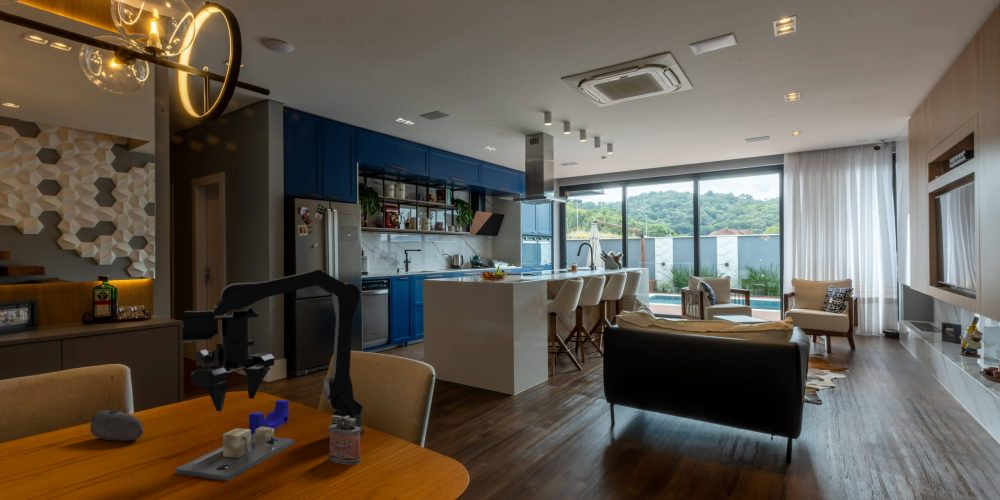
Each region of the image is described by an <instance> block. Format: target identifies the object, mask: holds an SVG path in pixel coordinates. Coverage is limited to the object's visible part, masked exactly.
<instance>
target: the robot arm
mask: <svg viewBox="0 0 1000 500" xmlns="http://www.w3.org/2000/svg"><path fill="white" fill-rule="evenodd" d="M315 286H317V287H318V288H320V289H321V290H323V291H324V292H327V293H329V295H331V297H332V305H333V309H334V314H335V327H334V328H335V330H334V344H333V360H332V370H331V374H330V376H329V377H324V379H323V380H324V382H323V383H324V388H323V391H322V394H323V395H324V397H325V398H326V401H327V402H328V403H329V405H330V406H331V407H332V408H333V409H334V410H335V411H333V416H334V415H336V416H342V417H345V416H350V418H354V419H356V423H355V426H357V427H360V428H361V432H360V435H362V434H363V433H365V432H366V431H365V429H364V428H363V429H362V410H363V407H364V406H363V405H362V403H360V402H359V400H357V399H356V398H355V396H354V389H353V383H352V377H351V373H350V372H351V371H350V370H351V369H350V368H351V354H352V342H353V341H352V339H353V324H354V317H355V315H356V313H357V310H358V307H359V303H360V299H361V291H360V289H359V288H358V286H357V285H356V284H352V283H348V282H343V281H340V280H338V279H337V278H335V277H333V276H332V275H329V274H328V273H326V272H325V270H322V269H315V268H314V269H312V270H310V271H306V272H301V273H296V274H293V275H288V276H283V277H278V278H275V279H271V280H266V281H255V282H253V281H252V282H236V283H231V284H228V285H226V286H225V287H224V288H223V290H222V291H221V294H220V295H221V299H220V300H219V301H218V302H217V303H216V304H215V305H214V307H213V309H212V310H201V311H200V310H197V311H194V310H185V311H184V312H183V326H182V327H181V330H182V331H181V332H182V333H181V334H182V336H181V337H182V342H183V343H188V342H198V341H199V342H200V341H211V340H212V341H213V337H215V336H218V335H219V321H221V323H220V324H221V325H220V326H221V330H220V331H221V333H220V335H221V337H220V338H221V340H220V341H221V342H218V343H216V345H215V350H212V351H208V350H207V349H202V350H198V351H195V352H194V363H195V366H199V367H200V366H202V367H201V368H197V369H194V370H193V371H192V372H191V373H190V383H191V384H196V385H197V386H198V387H203V388H204V389H205V390H206V391H207V393H208V395H209V397H210V399H211V401H212V404H213V406H214V408H215V410H216V412H222V411H223V408H224V404H225V401H226V394H227V388H228V384H229V381H226V379H227V377H228V375H230V374H232V373H236V372H240V371H243V372H244V373H245V375H246V379H247V397H248V399H249V400H254V398H255V397H256V395H257V392H258V390H259V388H260V386H261V384H262V382H263V380H264V379H265V377H266V375H267V374H268V372H269V371H270V370H271V367H272V366H275V356H273V354H272V353H264V352H263V353H262V352H261V353H260V352H256V353H253V354H250V353H251V351H250V350H251V349H250V346H254V343H255V340H252V339H251V340H250V337H251V336H250V318H258V317H259V316H260V315H259V314H258V313H257V312H256V311H255V310H254V309H253V307H252V306H250V305H253V304H256V303H258V302H259V301H262V300H264V299H266V298H269V297H272V296H278V295H281V294H285V293H289V292H294V291H298V290H301V289H302V290H303V289H307V288H311V287H315ZM248 306H249V307H248ZM247 307H248V308H247ZM243 308H247V309H246V310H244V309H243ZM241 309H243V310H241ZM230 311H232V314H230V315H228V314H227V313H228V312H230ZM226 314H227V315H226ZM333 424H337V423H336V422H332V421H331V425H333Z"/></svg>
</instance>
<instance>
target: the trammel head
mask: <svg viewBox="0 0 1000 500" xmlns="http://www.w3.org/2000/svg"><path fill="white" fill-rule="evenodd" d="M222 446H223V456H226V457H233V458H238V457H240V456H242V455H244V454H248V452H250V451H251V430H250V429H249V428H242V427H241V428H238V427H236V428H235V429H232V430H230V431H228V432H225V433H223V434H222Z"/></svg>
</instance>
